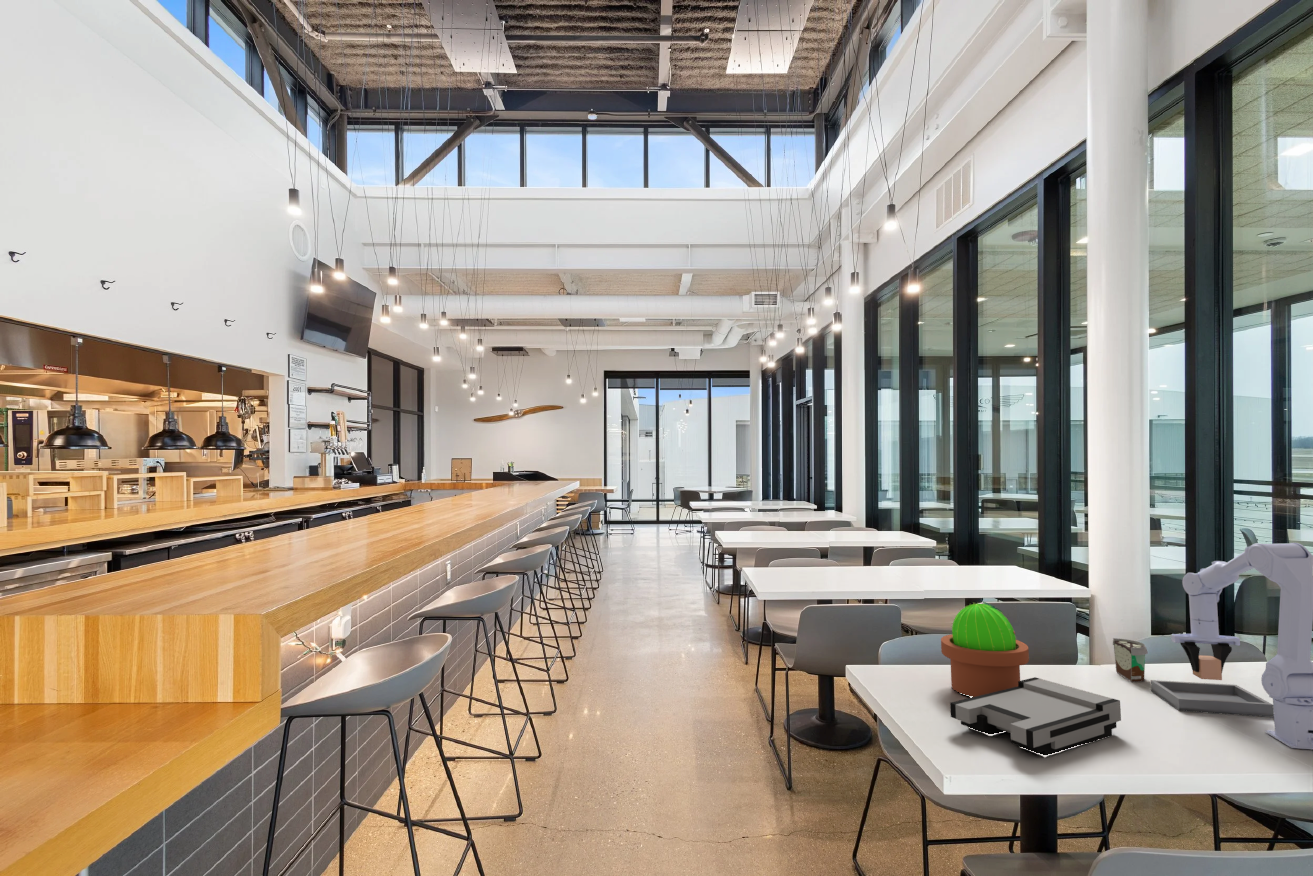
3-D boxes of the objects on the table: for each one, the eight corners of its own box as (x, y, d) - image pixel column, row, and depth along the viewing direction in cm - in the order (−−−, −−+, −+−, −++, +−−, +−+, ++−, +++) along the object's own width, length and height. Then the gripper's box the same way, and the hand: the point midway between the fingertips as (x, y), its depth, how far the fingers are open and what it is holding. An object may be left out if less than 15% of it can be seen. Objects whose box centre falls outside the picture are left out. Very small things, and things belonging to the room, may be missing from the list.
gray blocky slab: (951, 732, 160) (950, 697, 161) (1036, 709, 175) (1035, 677, 175) (1034, 765, 142) (1032, 725, 142) (1121, 736, 156) (1120, 700, 157)
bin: (1273, 717, 166) (1273, 704, 166) (1179, 711, 171) (1178, 699, 171) (1236, 696, 181) (1236, 684, 182) (1151, 691, 187) (1150, 680, 187)
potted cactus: (953, 703, 180) (950, 608, 181) (935, 678, 201) (931, 593, 202) (1043, 707, 176) (1038, 610, 177) (1014, 681, 197) (1010, 595, 199)
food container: (1158, 684, 192) (1156, 649, 193) (1134, 683, 193) (1132, 648, 194) (1136, 672, 204) (1134, 638, 205) (1114, 671, 206) (1112, 637, 206)
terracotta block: (1222, 680, 174) (1220, 660, 174) (1201, 679, 175) (1200, 659, 175) (1212, 675, 178) (1211, 656, 179) (1192, 674, 180) (1191, 655, 180)
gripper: (1228, 617, 179) (1231, 668, 179) (1164, 615, 183) (1167, 665, 183) (1243, 622, 173) (1246, 676, 172) (1177, 620, 176) (1180, 673, 176)
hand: (1207, 671), depth 177 cm, fingers closed on terracotta block, 4 cm apart
